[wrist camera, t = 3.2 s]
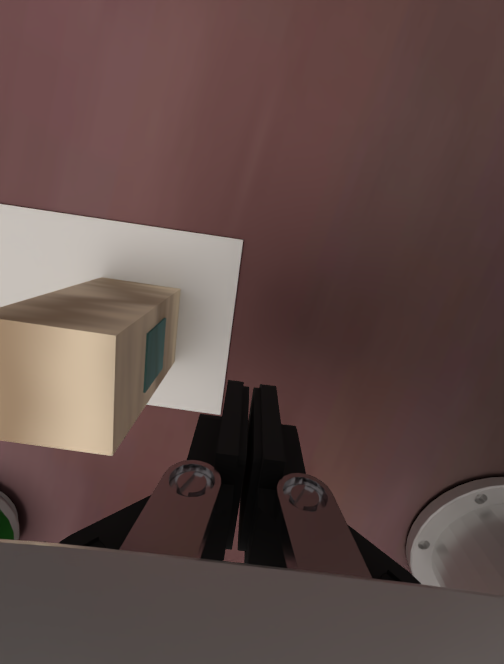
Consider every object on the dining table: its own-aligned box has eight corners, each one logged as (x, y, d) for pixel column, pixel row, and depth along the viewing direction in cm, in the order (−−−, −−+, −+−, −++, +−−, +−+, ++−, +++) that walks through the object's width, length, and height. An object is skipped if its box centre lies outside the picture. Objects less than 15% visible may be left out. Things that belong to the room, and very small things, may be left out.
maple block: (182, 289, 22) (118, 336, 12) (176, 362, 23) (115, 456, 13) (101, 277, 22) (-27, 315, 12) (100, 351, 23) (-15, 438, 13)
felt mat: (243, 239, 21) (242, 240, 21) (220, 412, 24) (220, 414, 24) (-86, 191, 21) (-90, 190, 20) (-61, 372, 24) (-65, 374, 24)
